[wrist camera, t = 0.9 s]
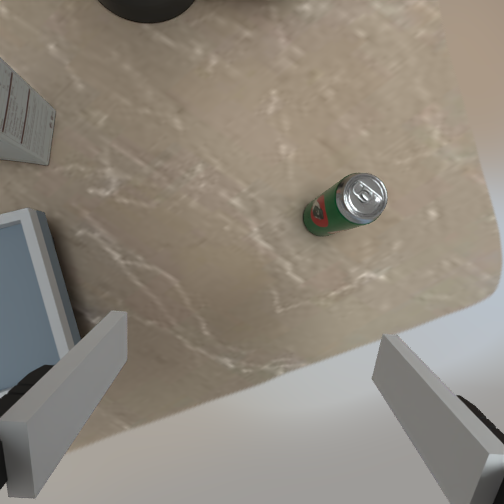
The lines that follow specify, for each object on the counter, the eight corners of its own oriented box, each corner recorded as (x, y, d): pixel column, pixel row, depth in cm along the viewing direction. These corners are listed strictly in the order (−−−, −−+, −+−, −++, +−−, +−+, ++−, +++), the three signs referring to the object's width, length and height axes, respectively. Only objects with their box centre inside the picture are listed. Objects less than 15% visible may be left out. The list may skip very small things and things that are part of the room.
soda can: (320, 244, 38) (366, 234, 26) (294, 217, 37) (328, 195, 25) (345, 218, 38) (402, 196, 26) (319, 191, 38) (364, 157, 26)
